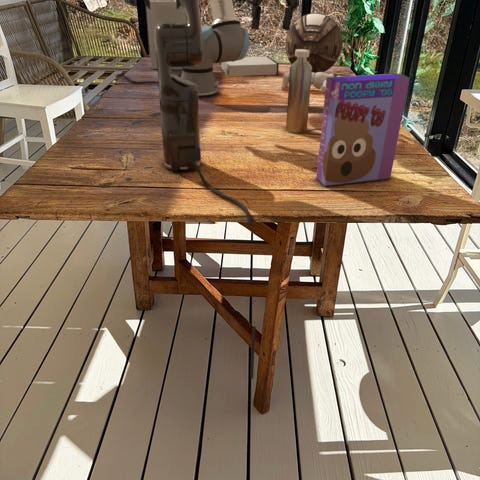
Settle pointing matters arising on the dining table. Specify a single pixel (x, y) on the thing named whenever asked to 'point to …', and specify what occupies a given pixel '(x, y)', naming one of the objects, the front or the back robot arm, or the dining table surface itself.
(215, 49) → the back robot arm
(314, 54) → the sphere
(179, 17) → the tall grey upright box
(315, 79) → the toy
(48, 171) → the dining table surface
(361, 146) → the cereal box
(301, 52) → the cap
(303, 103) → the bottle
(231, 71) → the disc drive
